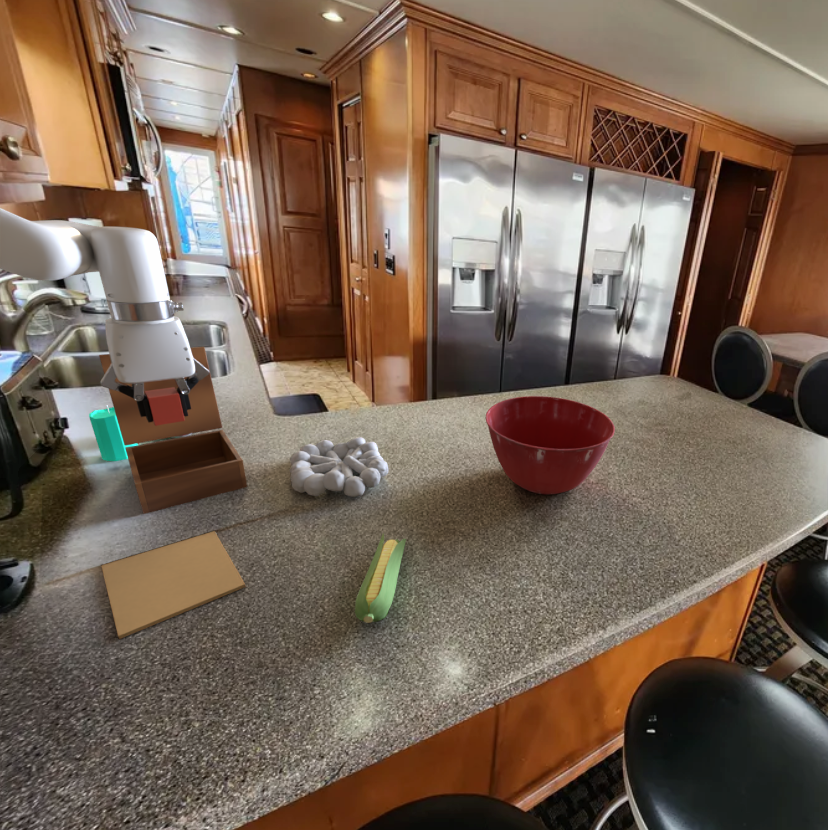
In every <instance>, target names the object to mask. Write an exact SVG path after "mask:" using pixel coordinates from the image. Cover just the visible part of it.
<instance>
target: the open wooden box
mask: <svg viewBox="0 0 828 830" xmlns="http://www.w3.org/2000/svg"><path fill="white" fill-rule="evenodd" d="M125 448H126V452H127V456H128V459H127V460H128V463H129V467H130V472H131V475H132V479H133V482H134V486H135V489H136V493H137V497H138V500H139V503H140V507H141V510H142V514H143V515H146V514H149V513H153V512H157V511H161V510H165V509H169V508H172V507H177V506H180V505H184V504H188V503H192V502H196V501H199V500H203V499H207V498H211V497H215V496H218V495H222V494H226V493H230V492H234V491H238V490H241V489H245V488H248V481H247V476H246V469H245V465H244V460H243V458H242V457H241V455H240V454H239V452H238V451H237V450H236V447H235V446H234V445H233V443H232V442H231V440H230V439H229V437H228V436H227V435H226V433H225V431H224V430H223V429H219V430H218V429H217V430H211V431H206V432H200V433H195V434H191V435H189V436H185V437H180V438H169V439H165V440H164V439H162V440H157V441H151V442H146V443H141V444H138V445H136V446H131V447H125Z"/></svg>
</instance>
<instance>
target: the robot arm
mask: <svg viewBox="0 0 828 830" xmlns="http://www.w3.org/2000/svg"><path fill="white" fill-rule="evenodd" d="M0 270H3V271H5V272H8V273H11V274H14V275H17V276H20V277H23V278H27V279H32V280H35V281H44V282H45V281H47V282H49V281H50V282H52V281H58V280H63V279H67V278H69V277H73V276H78V275H83V274H88V273H99V277H100V280H101V283H102V288H103V292H104V295H105V299H106V304H107V307H108V311H109V315H110V317H111V318H107V319H105V322H104V323H105V324H104V325H105V327H104V328H105V338H106V344H107V349H108V354H109V355H110V359H111V365H110V367H109V368H108V370H107V371H106V373H105V375H103V377H102V378H101V380H100V382H99V383H100V385H101V387H103V388H106V389H108V388H109V389H112V390H115V391H119V392H121V393H123V394H125V395H127V396H129V397H131V398H134V399H135V400H136V401H137V405H138V409H139V413H140V416H141V417H145V416H146V418H147V420H148V422H152V421H154V420H153V416H152V412H151V408H150V405H149V401H148V399H147V397H146V396H145V394H144V382H152V381H161V380H169V379H174V380H175V382H176V384H177V386H178V388H177V392H178V394H179V397H180V401H181V406H182V410H183V415H184V416H188V412H187V410H190V409H191V405H190V400H189V396H188V394H189V393H190V390H191V389H192V388H193V387H194V386H195V385H196V384H197V383H198V381H200V380H202V379H203V378H204V377H206V376H207V375H208V374H209V371H208V370H207V369H206V368H205V367H204V366H203V365H201V364H200V363H199V362H198V361H197V360H196V359H195V358H193V356H192V352H191V349H190V348H191V345H190V342H189V339H188V336H187V334H186V331H185V328H184V326H183V323H182V321H181V319H180V317H179V316H176V315H175V314H176V312H182V311H184V305H183V303H182V302H177V301H174V300H171V296H170V293H169V287H168V283H167V278H166V273H165V269H164V264H163V260H162V255H161V250H160V246H159V242H158V239H157V237H156V236H155V234H154V233H152V232H151V231H150V230H146V229H143V228H137V227H127V226H111V225H110V226H99V225H98V226H97V225H92V224H86V223H81V222H76V221H69V220H63V219H62V220H61V219H49V220H48V219H47V220H46V219H45V220H29V219H26V218H24V217H22V216H19V215H17V214H15V213H13V212H11V211H8V210H6V209H4V208H2V207H0ZM195 370H196V372H195ZM116 377H117V378H118V380H119V381H120V382H122V383H120V382H117V381H115V379H116ZM184 377H188V378H187V379H186V380H185V379H184ZM125 383H129V384H132V387H131V386H129V385H127V384H125ZM109 389H108V390H109Z"/></svg>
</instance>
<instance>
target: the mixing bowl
mask: <svg viewBox="0 0 828 830" xmlns="http://www.w3.org/2000/svg"><path fill="white" fill-rule="evenodd" d="M485 421H486V423H485V424H486V425H487V427H488V432H489V435H490V439H491V443H492V447H493V449H494V452H495V455H496V457H497V460H498V462H499V465H500V466H501V468H502V470H503V472H504V473H505V475H506V477H508V479H510V480H511V481H512V482H513V483H514V484H515V485H517V486H518V487H520V488H522V489H524V490H526V491H528V492H531V493H533V494H539V495H558V494H561V493H566V492H569V491H571V490H573V489H575V488H577V487H578V486H580V485H581V484H582V483H583V482H584V481H585V480H586V479H587V478H588V477H589V476H590V475H591V474H592V472H593V470H594V469H595V468H596V466H597V465H598V464H599V462H600V460H601V458H602V457H603V455H604V454H605V452H606V450H607V447H608V445H609V444H610V441H611V439H612V438H613V437H614V435H615V430H616V428H615V424H614V423H613V421H612V420H611V419H610V417H609V416H607V415H606V414H605V413H604V412H602V411H601V410H600V409H597V408H595V407H592V406H590V405H589V404H586V403H582V402H580V401H575V400H571V399H567V398H561V397H556V396H555V397H554V396H546V395H545V396H543V395H542V396H541V395H529V396H518V397H512V398H507V399H504V400H501V401H499V402H497V403H494V404H493V405H492V406H490V408H488V410H487V411H486V413H485Z"/></svg>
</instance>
